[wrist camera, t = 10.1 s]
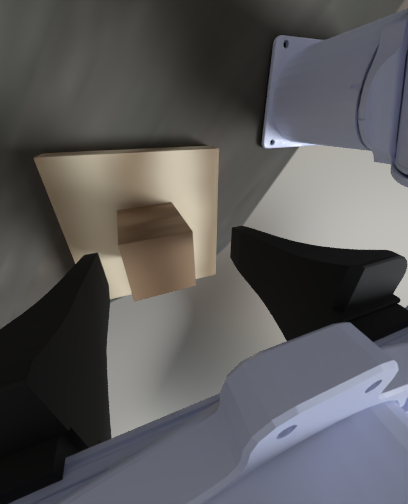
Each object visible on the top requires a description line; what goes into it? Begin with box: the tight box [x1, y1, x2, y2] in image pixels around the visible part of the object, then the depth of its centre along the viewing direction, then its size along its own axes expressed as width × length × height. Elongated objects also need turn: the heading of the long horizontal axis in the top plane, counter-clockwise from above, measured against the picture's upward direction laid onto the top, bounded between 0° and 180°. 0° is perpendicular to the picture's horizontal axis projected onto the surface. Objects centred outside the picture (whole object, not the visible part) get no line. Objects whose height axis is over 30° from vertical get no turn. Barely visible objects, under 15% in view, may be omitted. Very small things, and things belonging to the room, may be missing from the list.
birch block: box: [34, 146, 219, 299], centre depth 20 cm, size 13×13×3 cm
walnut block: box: [117, 202, 196, 301], centre depth 16 cm, size 4×4×6 cm
